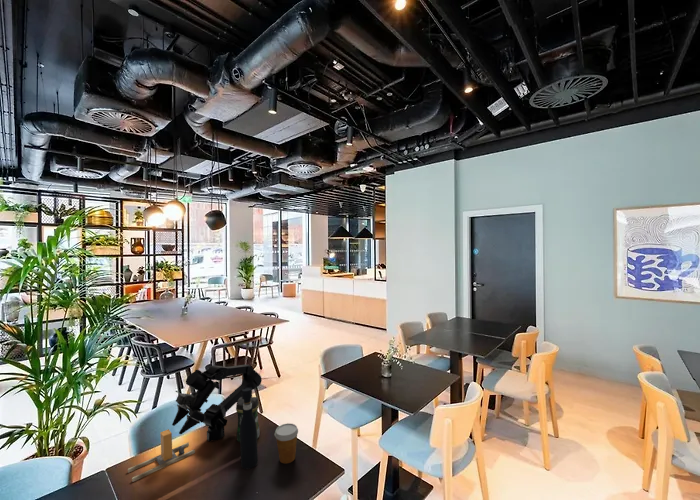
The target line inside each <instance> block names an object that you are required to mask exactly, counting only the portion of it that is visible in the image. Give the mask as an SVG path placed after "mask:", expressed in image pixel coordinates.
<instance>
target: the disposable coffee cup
mask: <svg viewBox="0 0 700 500" xmlns="http://www.w3.org/2000/svg"><path fill="white" fill-rule="evenodd" d="M298 434H299V428H298V426H297V425H296V424H294V423H290V422H287V423H283V424H281V425H279V426H277V427H276V429H275V432H274V437H275V439H276V446H277V447H276V448H277V450H278V451H277V452H278V458H279V462H280V463H281V464H290V463H292V462H293V461H294V460H295V459H296V453H297V452H296V451H297V441H298V440H297V439H298Z"/></svg>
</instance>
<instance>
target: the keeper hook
mask: <svg viewBox="0 0 700 500" xmlns="http://www.w3.org/2000/svg"><path fill="white" fill-rule="evenodd" d="M181 445H182V446H181ZM181 445H179V446H180V447H179V446H178V447H179V448H177V447H176V448H177V450H178V455H179V456H181V455H183V454H185V448H184V446H183V444H181Z"/></svg>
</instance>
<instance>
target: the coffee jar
mask: <svg viewBox="0 0 700 500" xmlns="http://www.w3.org/2000/svg"><path fill="white" fill-rule="evenodd" d="M250 399H251V404H252V410H253V416H254V418H255V421H256V426H257V440H258V438H259V437H260V424H259V417H258V415H259V414H258V413H259V411H258V410H259V407H260V405H259V404H260V403H259V398H258V396H252V397H251V398H250ZM243 404H244V399H242V397H240V398H239V399H238V401H237V402H236V403H235V405H236V407H235V411H236V414H237V430H236V431H237V432H236V441H237V442H238V443H240V425H241V421H242V417H243Z"/></svg>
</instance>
